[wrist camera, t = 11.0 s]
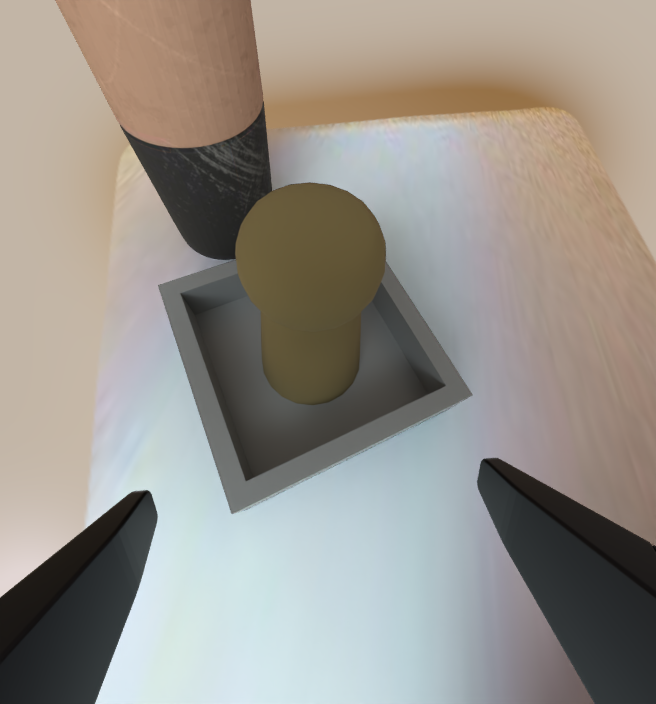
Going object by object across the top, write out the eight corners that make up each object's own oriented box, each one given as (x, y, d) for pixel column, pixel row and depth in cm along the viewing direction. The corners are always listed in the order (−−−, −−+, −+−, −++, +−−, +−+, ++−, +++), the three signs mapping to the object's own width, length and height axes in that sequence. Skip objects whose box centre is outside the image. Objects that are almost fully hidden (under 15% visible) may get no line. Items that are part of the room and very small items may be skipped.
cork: (375, 385, 19) (445, 271, 9) (279, 420, 18) (239, 334, 8) (338, 303, 22) (363, 138, 11) (250, 330, 20) (190, 174, 10)
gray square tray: (446, 410, 20) (472, 395, 17) (246, 509, 17) (231, 514, 14) (352, 255, 24) (358, 219, 21) (180, 315, 22) (157, 285, 19)
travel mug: (266, 180, 27) (171, -474, 9) (288, 251, 24) (218, -489, 6) (172, 196, 26) (-169, -522, 8) (184, 273, 23) (-310, -569, 5)
